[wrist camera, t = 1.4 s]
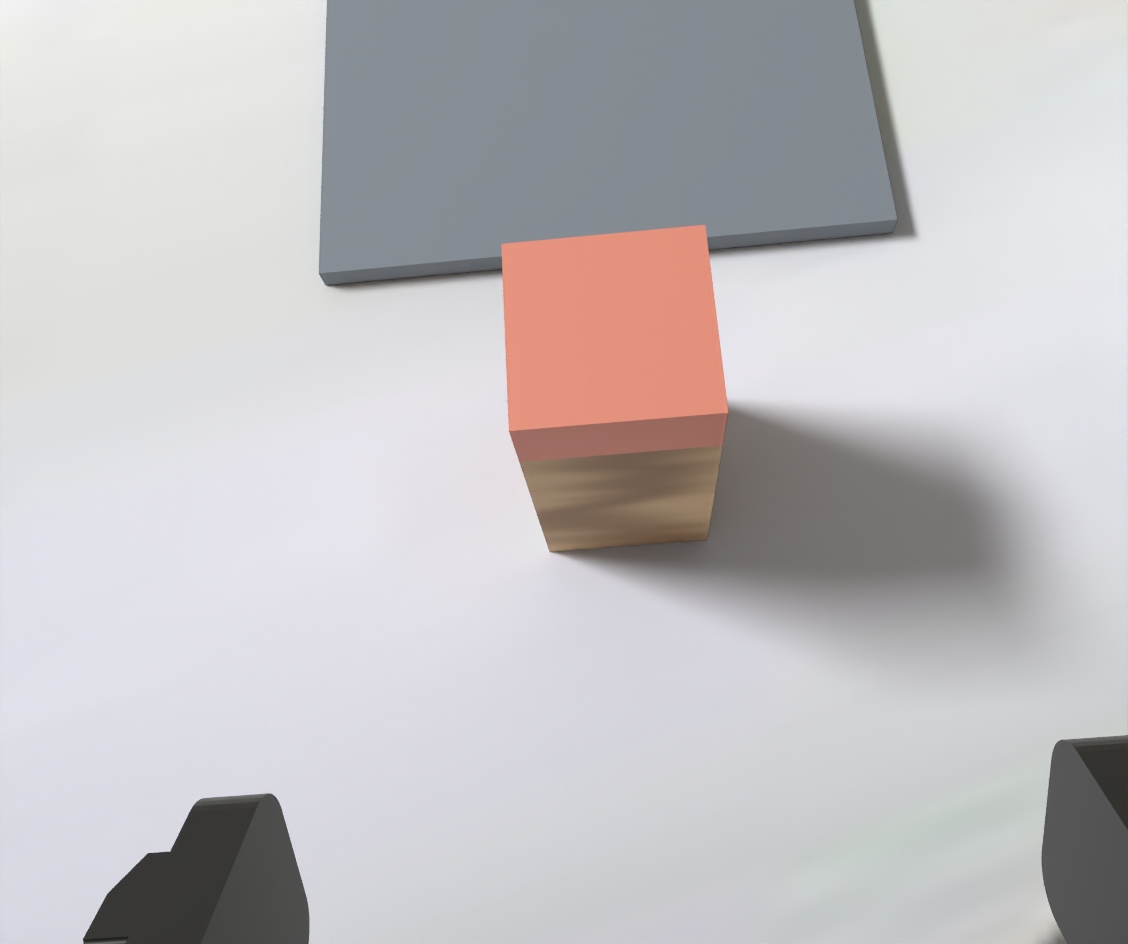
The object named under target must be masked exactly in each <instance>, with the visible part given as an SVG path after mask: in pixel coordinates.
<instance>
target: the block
mask: <svg viewBox="0 0 1128 944" xmlns="http://www.w3.org/2000/svg"><path fill="white" fill-rule="evenodd" d="M501 248H502V272H503V296H504V320H505V345H506V369H507V393H508V417H509V432H510V435H511V438H512V441H513V444H514V447H515V450H516V453H517V456H518V459H519V462H520V465H521V468H522V471H523V474H524V477H525V480H526V483H527V486H528V489H529V492H530V495H531V498H532V501H533V504H534V507H535V510H536V513H537V516H538V519H539V522H540V525H541V528H542V531H543V533H544V536H545V539H546V542H547V545H548V548H549V551H550V552H553V551H566V550H579V549H592V548H605V547H618V546H631V545H644V544H657V543H670V542H683V541H696V540H707V537H708V531H709V525H710V520H711V514H712V508H713V502H714V496H715V490H716V484H717V478H718V472H719V466H720V460H721V454H722V448H723V442H724V436H725V430H726V424H727V418H728V406H727V398H726V389H725V381H724V373H723V365H722V357H721V349H720V340H719V332H718V324H717V316H716V308H715V300H714V292H713V283H712V275H711V267H710V259H709V251H708V243H707V234H706V226H705V225H697V226H686V227H676V228H665V229H654V230H644V231H633V232H622V233H612V234H601V235H590V236H580V237H569V238H558V239H548V240H537V241H526V242H516V243H505V244H501Z"/></svg>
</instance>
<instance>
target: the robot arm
mask: <svg viewBox="0 0 1128 944" xmlns="http://www.w3.org/2000/svg"><path fill="white" fill-rule="evenodd" d="M1042 872H1043V879H1044V885H1045V890H1046V894H1047V898H1048V901H1049V904H1050V907H1051V910H1052V913H1053V916H1054V918H1055V920H1056V922H1057V925H1058V927H1059V929H1060V930H1061V932H1062V934H1063V936H1064V938H1065V940H1066V942H1067V944H1128V735H1125V736H1111V737H1097V738H1083V739H1069V740H1060V741H1058V742H1057V743H1056V745H1055V747H1054V750H1053V753H1052V759H1051V769H1050V778H1049V788H1048V798H1047V807H1046V817H1045V826H1044V836H1043V846H1042ZM83 942H84V943H83V944H308V943H309V909H308V902H307V898H306V894H305V890H304V887H303V883H302V880H301V876H300V873H299V869H298V866H297V862H296V858H295V855H294V851H293V848H292V844H291V841H290V837H289V834H288V830H287V827H286V823H285V820H284V816H283V813H282V809H281V806H280V804H279V802H278V800H277V798H276V797H275V796H274V795H272V794H256V795H242V796H228V797H214V798H203V799H200V800H199V801H197V802H196V803H195V805H194V806H193V807H192V809H191V811H190V813H189V815H188V817H187V819H186V821H185V823H184V825H183V827H182V829H181V831H180V833H179V835H178V837H177V839H176V841H175V843H174V845H173V847H172V849H171V851H170V852H159V853H148V854H147V855H146V856H145V857H144V858H143V859H142V860H141V861H140V862H139V863H138V864H137V865H136V866H135V867H134V868H133V869H132V870H131V871H130V872H129V873H128V874H127V875H126V876H125V877H124V878H123V879H122V880H121V881H120V882H119V883H118V884H117V885H116V886H115V887H114V888H113V889H112V890H111V891H110V892H109V893H108V894H107V896H106V898H105V899H104V901H103V903H102V905H101V907H100V909H99V911H98V912H97V914H96V916H95V918H94V920H93V922H92V924H91V925H90V927H89V929H88V931H87V933H86V935H85V937H84V938H83Z"/></svg>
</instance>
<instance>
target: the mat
mask: <svg viewBox="0 0 1128 944" xmlns="http://www.w3.org/2000/svg"><path fill="white" fill-rule="evenodd" d="M896 222H897V215H896V210H895V205H894V200H893V195H892V190H891V185H890V180H889V175H888V170H887V165H886V160H885V155H884V150H883V145H882V140H881V135H880V130H879V125H878V120H877V114H876V109H875V104H874V99H873V94H872V89H871V84H870V79H869V74H868V69H867V64H866V59H865V54H864V49H863V44H862V39H861V34H860V29H859V24H858V19H857V14H856V9H855V4H854V0H327V18H326V52H325V85H324V119H323V152H322V186H321V219H320V252H319V274H320V276H321V278H322V280H323V281H324V283H325V285H332V284H343V283H354V282H364V281H375V280H386V279H397V278H408V277H419V276H429V275H440V274H451V273H462V272H473V271H483V270H494V269H502V248H501V244H505V243H516V242H526V241H537V240H548V239H558V238H569V237H580V236H590V235H601V234H612V233H622V232H633V231H644V230H654V229H665V228H676V227H686V226H697V225H705V226H706V234H707V243H708V250H711V249H721V248H732V247H743V246H754V245H765V244H775V243H786V242H797V241H808V240H819V239H830V238H840V237H851V236H862V235H873V234H884V233H892V232H893V230H894V227H895V224H896Z"/></svg>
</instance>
